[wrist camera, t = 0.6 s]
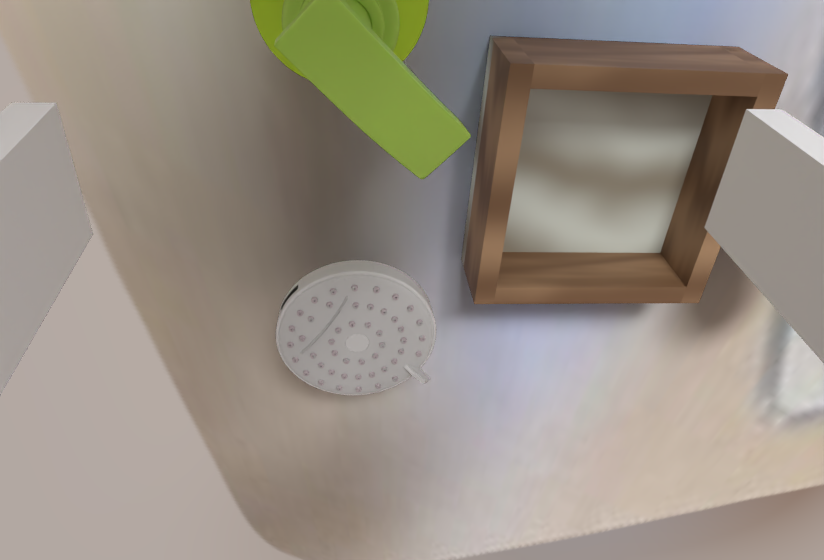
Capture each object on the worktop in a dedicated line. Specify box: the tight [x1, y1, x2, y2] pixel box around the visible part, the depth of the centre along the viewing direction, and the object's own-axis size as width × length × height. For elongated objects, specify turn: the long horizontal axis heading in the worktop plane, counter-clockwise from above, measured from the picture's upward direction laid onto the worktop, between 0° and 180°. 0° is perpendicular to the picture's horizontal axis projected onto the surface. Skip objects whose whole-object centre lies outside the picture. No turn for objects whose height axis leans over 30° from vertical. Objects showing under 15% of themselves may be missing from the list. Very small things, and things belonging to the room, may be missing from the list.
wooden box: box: [461, 36, 788, 304], centre depth 38 cm, size 14×14×5 cm
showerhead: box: [276, 260, 436, 395], centre depth 41 cm, size 9×7×10 cm
